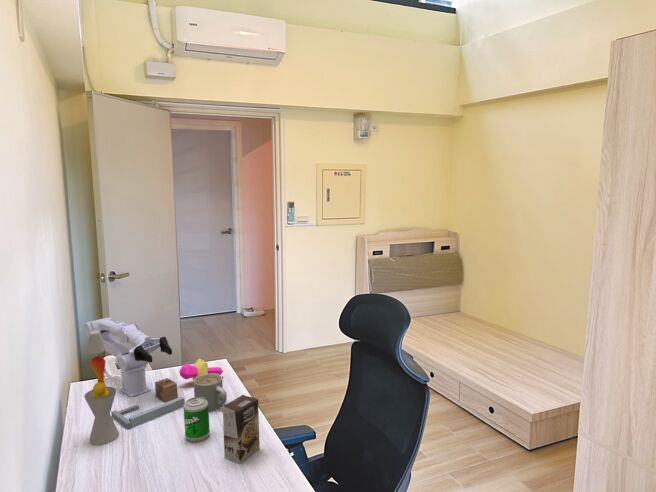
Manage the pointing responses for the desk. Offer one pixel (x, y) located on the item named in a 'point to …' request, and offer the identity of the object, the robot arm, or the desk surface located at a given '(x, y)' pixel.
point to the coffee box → (241, 428)
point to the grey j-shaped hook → (146, 413)
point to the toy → (198, 370)
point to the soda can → (196, 419)
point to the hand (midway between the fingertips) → (161, 355)
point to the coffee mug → (210, 390)
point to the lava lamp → (100, 396)
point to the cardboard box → (166, 390)
